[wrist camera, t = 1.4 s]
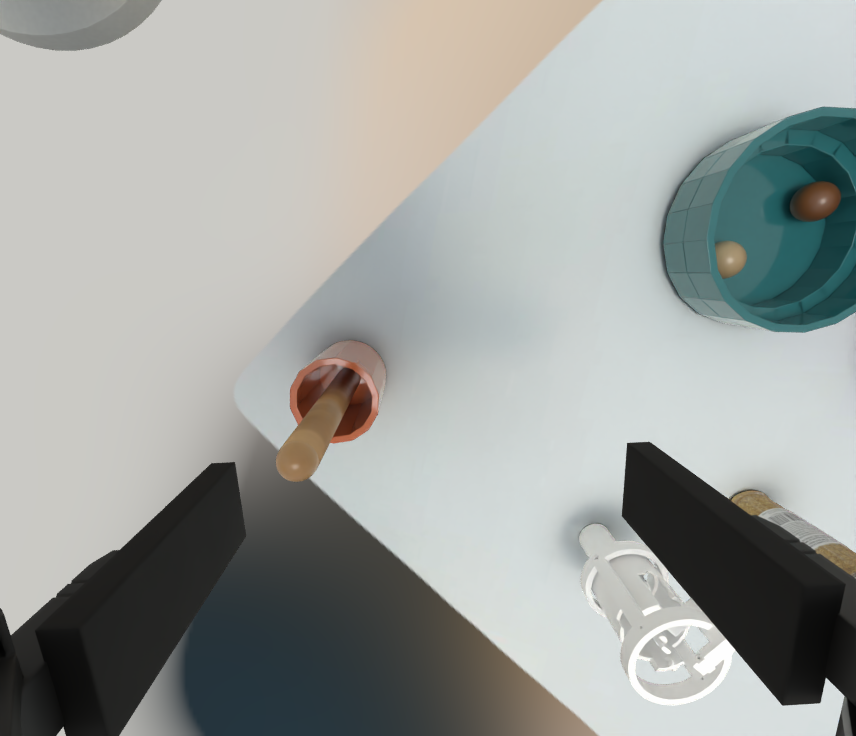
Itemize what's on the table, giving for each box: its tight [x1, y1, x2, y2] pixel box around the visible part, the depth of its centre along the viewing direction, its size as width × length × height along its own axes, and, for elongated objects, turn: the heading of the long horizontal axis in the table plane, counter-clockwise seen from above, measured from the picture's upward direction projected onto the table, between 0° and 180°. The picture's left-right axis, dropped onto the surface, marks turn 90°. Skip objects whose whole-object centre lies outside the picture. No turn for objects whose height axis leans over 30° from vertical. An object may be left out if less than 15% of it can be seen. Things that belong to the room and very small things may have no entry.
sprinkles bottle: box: [731, 490, 856, 578], centre depth 35 cm, size 5×5×14 cm
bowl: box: [663, 107, 856, 333], centre depth 33 cm, size 15×15×6 cm
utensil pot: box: [290, 340, 386, 443], centre depth 34 cm, size 6×6×8 cm
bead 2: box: [790, 181, 841, 222], centre depth 33 cm, size 3×3×3 cm
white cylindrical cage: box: [579, 524, 736, 705], centre depth 35 cm, size 7×7×15 cm
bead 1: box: [715, 241, 747, 279], centre depth 34 cm, size 3×3×3 cm
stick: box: [276, 368, 360, 482], centre depth 28 cm, size 2×2×18 cm
